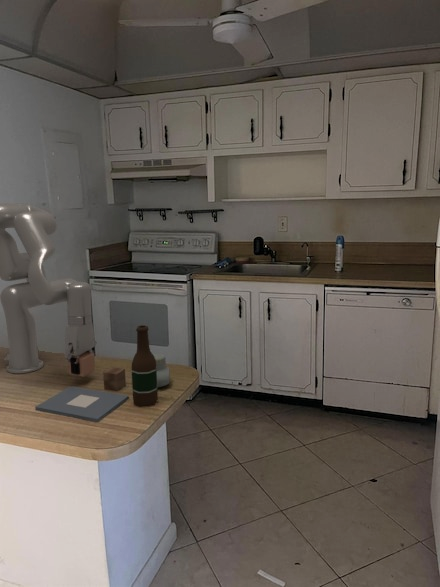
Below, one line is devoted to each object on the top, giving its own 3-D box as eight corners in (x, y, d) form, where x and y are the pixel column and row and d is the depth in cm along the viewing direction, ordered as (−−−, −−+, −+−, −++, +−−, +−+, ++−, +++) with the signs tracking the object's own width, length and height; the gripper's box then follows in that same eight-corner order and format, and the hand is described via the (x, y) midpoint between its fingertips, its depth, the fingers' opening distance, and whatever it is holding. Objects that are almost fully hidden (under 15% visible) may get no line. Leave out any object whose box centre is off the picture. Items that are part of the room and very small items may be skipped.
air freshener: (169, 390, 144) (168, 361, 142) (143, 391, 143) (142, 362, 141) (169, 377, 154) (169, 350, 152) (146, 378, 154) (144, 351, 152)
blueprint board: (35, 409, 131) (35, 406, 131) (71, 388, 145) (71, 385, 145) (97, 422, 123) (97, 418, 123) (128, 398, 138) (128, 395, 138)
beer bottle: (137, 409, 131) (133, 331, 126) (129, 399, 137) (125, 325, 132) (162, 403, 134) (159, 327, 129) (153, 394, 141) (150, 321, 136)
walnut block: (104, 389, 145) (103, 372, 144) (113, 383, 150) (112, 367, 148) (117, 391, 143) (116, 374, 142) (125, 385, 148) (124, 368, 147)
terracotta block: (68, 373, 149) (68, 356, 147) (80, 367, 154) (79, 350, 153) (83, 376, 147) (83, 359, 145) (94, 370, 152) (94, 353, 151)
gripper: (86, 311, 155) (88, 360, 159) (52, 324, 140) (55, 377, 144) (104, 314, 153) (106, 363, 157) (71, 327, 137) (74, 381, 141)
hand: (82, 369), depth 150 cm, fingers closed on terracotta block, 6 cm apart
